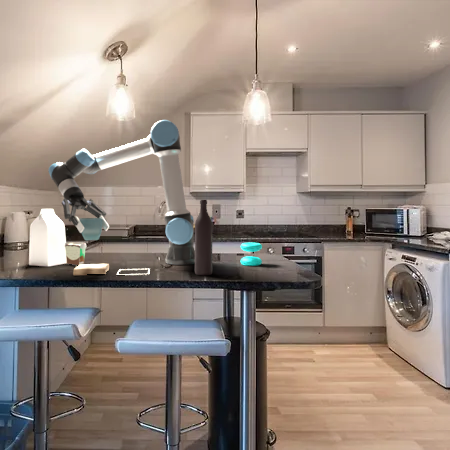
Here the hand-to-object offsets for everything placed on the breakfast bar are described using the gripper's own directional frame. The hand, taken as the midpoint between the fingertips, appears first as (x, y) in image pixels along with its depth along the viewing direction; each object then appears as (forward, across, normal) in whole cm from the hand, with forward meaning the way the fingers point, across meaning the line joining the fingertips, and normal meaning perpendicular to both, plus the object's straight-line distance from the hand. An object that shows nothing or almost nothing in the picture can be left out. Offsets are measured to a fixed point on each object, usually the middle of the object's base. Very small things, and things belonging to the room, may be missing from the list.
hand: (95, 229), depth 155 cm
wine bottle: (+39, -23, +14) cm, 48 cm away
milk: (-14, -4, -40) cm, 43 cm away
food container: (-6, -11, -31) cm, 34 cm away
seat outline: (+21, -10, -4) cm, 23 cm away
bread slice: (+11, 0, -14) cm, 18 cm away
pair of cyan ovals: (+42, -55, +17) cm, 71 cm away
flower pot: (+1, 0, -5) cm, 5 cm away
